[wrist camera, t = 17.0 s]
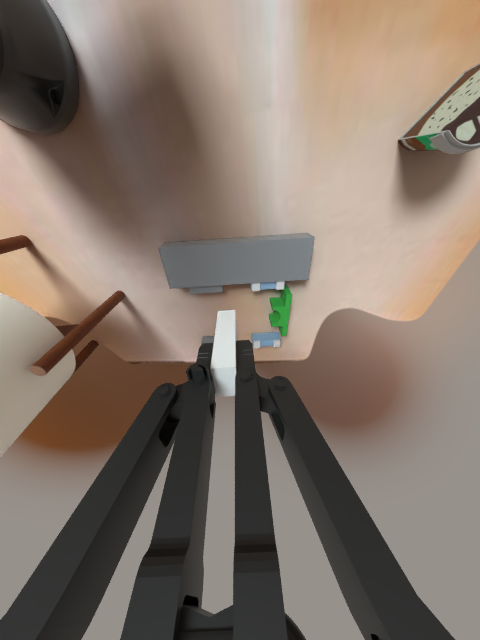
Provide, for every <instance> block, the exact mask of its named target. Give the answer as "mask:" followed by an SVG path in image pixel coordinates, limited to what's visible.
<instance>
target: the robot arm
mask: <svg viewBox="0 0 480 640" xmlns="http://www.w3.org/2000/svg"><path fill="white" fill-rule="evenodd" d="M78 98H79V83H78V75H77V69H76V64H75V60H74V57H73V54H72V50H71V48H70V45H69V42H68V40H67V37H66V35H65V33H64V30H63V28H62V26H61V24H60V22H59V20H58V19H57V17H56V15H55V13H54V12H53V10H52V8H51V7H50V5H49V4H48V2H47V1H46V0H0V119H1V120H2V121H4V122H6V123H8V124H10V125H12V126H15V127H17V128H20V129H23V130H27V131H30V132H34V133H38V134H53V133H57V132H59V131H61V130H63V129H64V128H66V127H67V126H68V125H69V123H70V122H71V121H72V119H73V117H74V115H75V113H76V109H77V105H78ZM254 365H255V364H254V355H253V346H252V343H251V342H250V341H249V340H241V341H237V325H236V313H235V310H225V311H218V315H217V322H216V330H215V337H214V343H203V344H202V345H201V346H200V348H199V352H198V356H197V361H196V363H195V364H193V365H191V366H190V367H189V368H188V369H187V371H186V373H187V376H188V379H189V381H187V382H186V383H184V384H181V385H178V386H174V384H171V383H165V384H162V385H160V386H159V387H157V389H156V390H155V391H154V392H153V394H152V395H151V397H150V398H149V400H148V401H147V403H146V404H145V406H144V408H143V409H142V410H141V412H140V413H139V415H138V416H137V418H136V419H135V421H134V422H133V424H132V425H131V427H130V428H129V430H128V431H127V433H126V434H125V436H124V437H123V439H122V440H121V442H120V443H119V445H118V446H117V448H116V449H115V451H114V452H113V454H112V455H111V457H110V458H109V460H108V461H107V463H106V464H105V466H104V467H103V469H102V470H101V472H100V473H99V475H98V476H97V478H96V479H95V481H94V483H93V484H92V485H91V487H90V488H89V490H88V491H87V493H86V494H85V496H84V497H83V499H82V500H81V502H80V503H79V505H78V506H77V508H76V509H75V511H74V513H73V514H72V515H71V517H70V518H69V520H68V521H67V523H66V525H65V526H64V527H63V529H62V530H61V532H60V533H59V535H58V536H57V538H56V539H55V541H54V542H53V544H52V546H51V547H50V549H49V550H48V552H47V553H46V555H45V556H44V557H43V559H42V560H41V562H40V564H39V565H38V566H37V568H36V569H35V571H34V572H33V574H32V575H31V577H30V578H29V580H28V582H27V583H26V585H25V586H24V587H23V589H22V590H21V592H20V594H19V595H18V597H17V598H16V599H15V601H14V602H13V604H12V606H11V607H10V608H9V610H8V612H7V613H6V614H5V615H4V616H3V618H2V619H1V620H0V640H81V639H82V637H83V635H84V634H85V632H86V630H87V628H88V626H89V625H90V623H91V621H92V618H93V616H94V614H95V612H96V610H97V608H98V606H99V604H100V602H101V600H102V598H103V596H104V594H105V591H106V589H107V587H108V585H109V583H110V580H111V578H112V576H113V574H114V572H115V569H116V567H117V565H118V563H119V561H120V559H121V556H122V554H123V552H124V550H125V548H126V546H127V543H128V541H129V539H130V537H131V535H132V532H133V530H134V528H135V526H136V524H137V521H138V519H139V517H140V515H141V513H142V511H143V508H144V506H145V504H146V502H147V500H148V497H149V495H150V493H151V491H152V489H153V487H154V484H155V482H156V480H157V478H158V476H159V473H160V471H161V469H162V467H163V465H164V462H165V460H166V458H167V456H168V454H169V451H170V449H171V447H172V445H173V443H174V447H173V451H172V455H171V459H170V464H169V468H168V472H167V477H166V481H165V485H164V489H163V494H162V498H161V502H160V506H159V511H158V515H157V519H156V524H155V528H154V533H153V536H152V540H151V544H150V547H149V549H148V551H147V552H146V554H145V555H144V557H143V559H142V561H141V564H140V566H139V569H138V573H137V576H136V580H135V584H134V588H133V591H132V595H131V600H130V603H129V607H128V611H127V615H126V619H125V623H124V628H123V631H122V635H121V639H120V640H306V639H305V637H304V636H303V634H302V632H301V631H300V629H299V628H298V627H297V625H296V624H295V623H294V622H293V621H292V619H291V618H290V617H289V616H288V615H287V614H286V613H285V612H284V603H283V595H282V588H281V587H282V586H281V578H280V569H279V561H278V554H277V548H276V543H275V535H274V527H273V518H272V510H271V500H270V492H269V483H268V474H267V465H266V457H265V447H264V439H263V430H262V422H261V412H260V411H262V412H266V413H268V414H269V416H270V419H271V421H272V423H273V426H274V428H275V430H276V433H277V436H278V438H279V440H280V443H281V445H282V448H283V450H284V453H285V455H286V458H287V460H288V462H289V465H290V467H291V470H292V472H293V474H294V477H295V479H296V482H297V484H298V487H299V489H300V492H301V494H302V496H303V499H304V501H305V504H306V506H307V508H308V511H309V514H310V516H311V518H312V521H313V523H314V526H315V528H316V530H317V533H318V535H319V538H320V540H321V543H322V545H323V547H324V550H325V553H326V554H327V557H328V560H329V562H330V565H331V567H332V570H333V572H334V574H335V576H336V579H337V582H338V584H339V587H340V589H341V591H342V594H343V596H344V598H345V600H346V603H347V605H348V607H349V609H350V612H351V614H352V616H353V618H354V619H355V622H356V623H357V625H358V627H359V629H360V631H361V633H362V635H363V637H364V638H365V640H455V639H454V638H453V637H452V636H451V634H450V633H449V632H448V631H447V630H446V629H445V628H444V626H443V625H442V624H441V623H440V622H439V620H438V619H437V618H436V617H435V616H434V615H433V613H432V612H431V611H430V610H429V609H428V607H427V606H426V605H425V604H424V603H423V602H422V600H421V599H420V598H419V597H418V596H417V594H416V592H415V591H414V589H413V587H412V586H411V584H410V582H409V581H408V579H407V577H406V576H405V574H404V572H403V570H402V569H401V567H400V565H399V564H398V562H397V560H396V559H395V557H394V555H393V554H392V552H391V550H390V549H389V547H388V545H387V544H386V542H385V540H384V539H383V537H382V535H381V533H380V532H379V530H378V528H377V527H376V525H375V523H374V522H373V520H372V518H371V517H370V515H369V513H368V512H367V510H366V508H365V507H364V505H363V503H362V502H361V500H360V498H359V497H358V495H357V494H356V492H355V490H354V488H353V486H352V485H351V483H350V481H349V480H348V478H347V476H346V475H345V473H344V471H343V470H342V468H341V466H340V465H339V463H338V461H337V460H336V458H335V456H334V455H333V453H332V451H331V449H330V448H329V446H328V444H327V443H326V441H325V439H324V438H323V436H322V434H321V433H320V431H319V429H318V428H317V426H316V424H315V423H314V421H313V419H312V418H311V416H310V414H309V412H308V411H307V409H306V407H305V406H304V404H303V403H302V401H301V399H300V397H299V396H298V394H297V392H296V391H295V389H294V387H293V386H292V384H291V382H290V381H289V380H288V379H287V378H285V377H282V376H275V377H273V378H272V379H271V380H269V379H265V378H262V377H260V376H259V375H258V374H257V373H256V371H255V366H254ZM215 393H216V397H219V396H235V547H234V572H233V581H234V582H233V593H234V594H233V605H232V606H230V607H228V608H226V609H224V610H222V611H220V612H219V613H217V614H212V613H210V612H208V611H205V610H203V609H201V605H202V592H203V576H204V575H203V574H204V568H203V550H204V538H205V526H206V514H207V501H208V491H209V479H210V466H211V455H212V442H213V431H214V418H215V407H216V403H215ZM174 441H175V442H174Z"/></svg>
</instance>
